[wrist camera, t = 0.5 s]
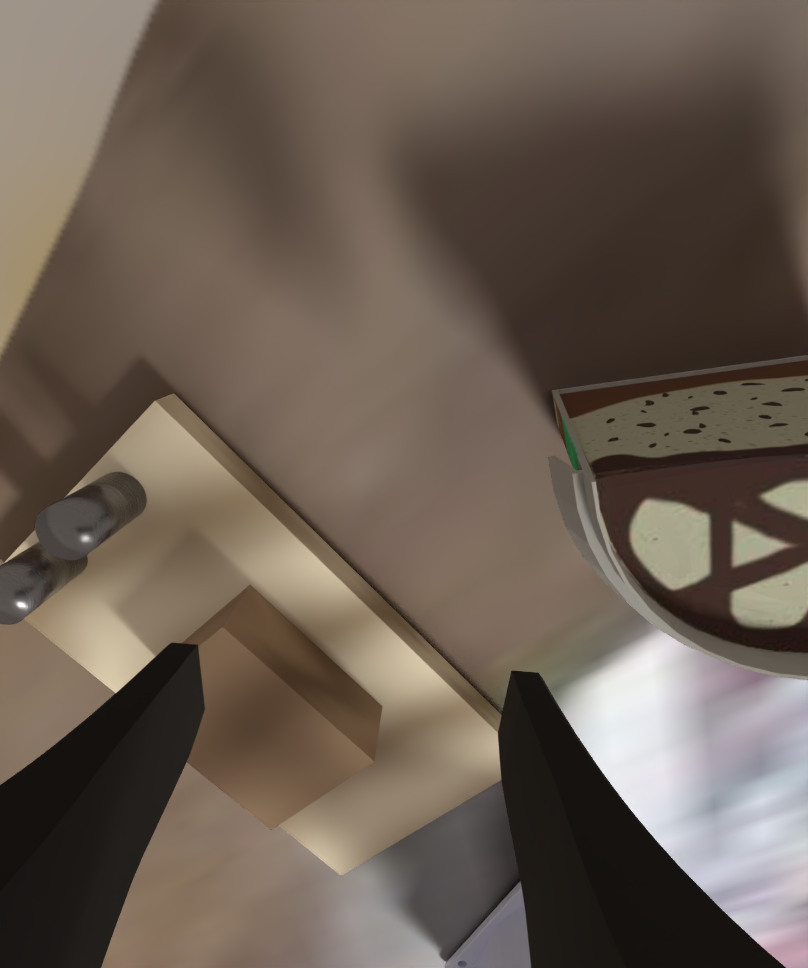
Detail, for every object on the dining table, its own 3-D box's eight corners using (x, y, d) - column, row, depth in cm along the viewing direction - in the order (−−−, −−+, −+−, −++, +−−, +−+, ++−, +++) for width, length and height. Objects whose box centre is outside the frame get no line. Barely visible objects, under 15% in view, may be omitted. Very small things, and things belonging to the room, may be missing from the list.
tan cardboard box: (382, 706, 24) (374, 761, 22) (289, 771, 26) (271, 830, 23) (250, 584, 23) (222, 626, 20) (160, 661, 24) (122, 710, 22)
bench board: (524, 737, 26) (529, 763, 25) (346, 847, 30) (341, 875, 28) (173, 392, 22) (155, 400, 20) (8, 568, 25) (-18, 585, 24)
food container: (524, 542, 23) (579, 720, 13) (510, 395, 21) (565, 484, 11) (844, 507, 21) (1157, 679, 12) (863, 347, 19) (1252, 403, 10)
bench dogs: (156, 498, 22) (105, 536, 18) (69, 584, 23) (8, 634, 20) (117, 461, 21) (57, 493, 18) (31, 552, 23) (-39, 597, 20)
